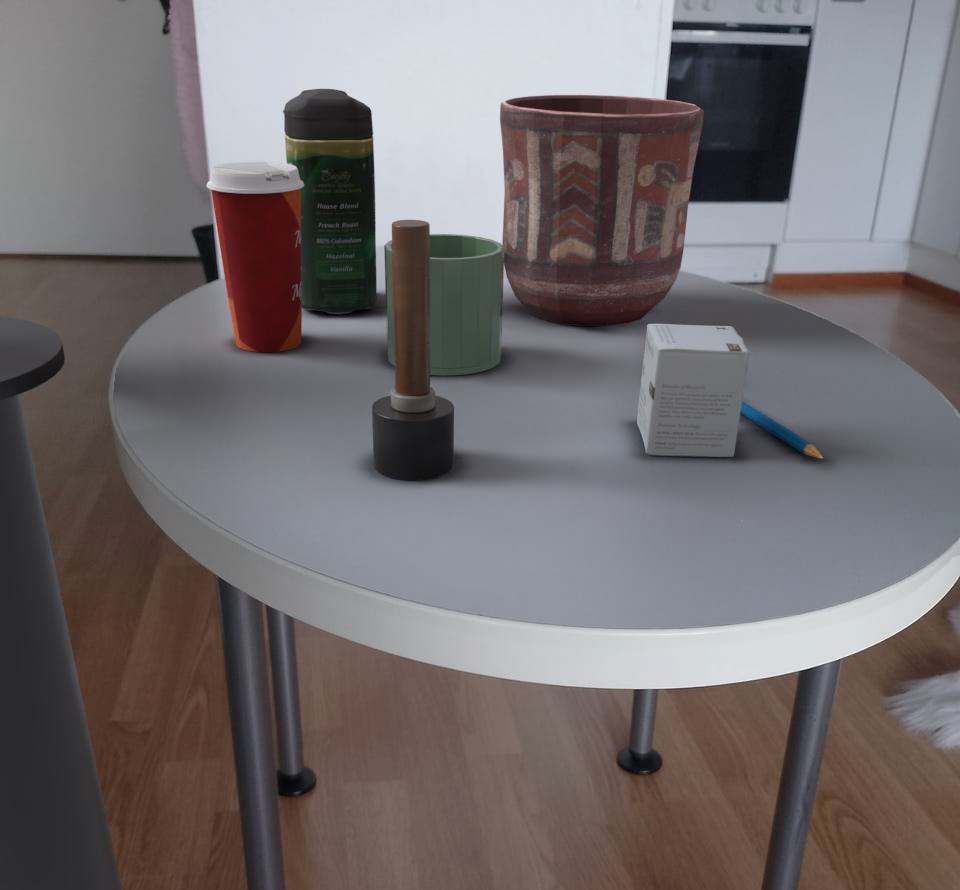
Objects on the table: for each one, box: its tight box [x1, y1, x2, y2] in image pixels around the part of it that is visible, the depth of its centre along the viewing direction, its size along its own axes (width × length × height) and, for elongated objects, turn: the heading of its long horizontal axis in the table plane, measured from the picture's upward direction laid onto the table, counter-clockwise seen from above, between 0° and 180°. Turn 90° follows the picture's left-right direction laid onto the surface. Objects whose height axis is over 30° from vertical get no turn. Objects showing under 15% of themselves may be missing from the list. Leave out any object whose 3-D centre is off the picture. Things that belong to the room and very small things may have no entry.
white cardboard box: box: [636, 323, 751, 458], centre depth 73 cm, size 6×6×7 cm
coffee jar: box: [282, 88, 378, 315], centre depth 100 cm, size 10×8×19 cm
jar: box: [383, 233, 505, 377], centre depth 88 cm, size 9×9×9 cm
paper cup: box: [206, 161, 304, 353], centre depth 90 cm, size 8×8×14 cm
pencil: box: [740, 400, 824, 459], centre depth 79 cm, size 1×17×1 cm, turn 19°
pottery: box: [499, 94, 705, 327], centre depth 100 cm, size 18×18×18 cm
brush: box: [371, 219, 455, 481], centre depth 67 cm, size 5×5×15 cm
